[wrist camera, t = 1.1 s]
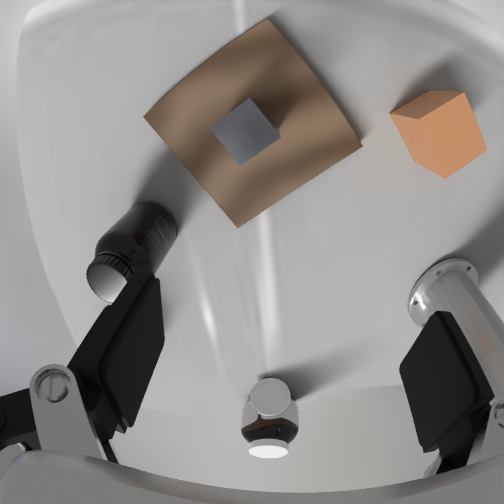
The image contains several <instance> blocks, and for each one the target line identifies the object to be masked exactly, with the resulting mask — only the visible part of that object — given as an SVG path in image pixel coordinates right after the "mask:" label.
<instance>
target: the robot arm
mask: <svg viewBox="0 0 504 504" xmlns="http://www.w3.org/2000/svg"><path fill="white" fill-rule="evenodd" d="M478 283H479V278H478V273H477V270H476V269H475V267H474V266H473V265H472V264H471V263H470V262H469V261H467V260H466V259H462V258H451V259H447V260H444V261H442V262H440V263H438V264H436V265H435V266H433V267H432V268H431V269H429V270H428V271H427V272H426V273H425V274H424V275H423V276H422V277H421V278H420V279H419V281H418V282H417V283H416V285H415V287H414V288H413V290H412V292H411V295H410V298H409V303H408V310H409V314H410V316H411V318H412V320H413V322H414V323H415V324H416V325H418V326H419V327H422V328H423V329H422V331H421V333H420V334H419V336H418V337H417V339H416V341H415V342H414V344H413V346H412V347H411V349H410V350H409V352H408V353H407V355H406V356H405V358H404V359H403V361H402V362H401V364H400V369H399V371H400V375H401V378H402V381H403V385H404V388H405V391H406V395H407V398H408V402H409V405H410V409H411V412H412V416H413V420H414V424H415V428H416V432H417V436H418V440H419V444H420V445H421V446H422V447H423V452H424V453H426V452H431V451H435V450H436V449H438V448H439V451H440V452H439V454H438V456H437V459H436V461H434V462H433V463H432V464H431V465H430V466H429V467H428V468H427V470H426V471H425V473H424V476H423V478H422V479H418V480H413V481H409V482H404V483H399V484H394V485H388V486H382V487H375V488H367V489H359V490H349V491H338V492H319V493H279V492H260V491H248V490H238V489H230V488H222V487H216V486H209V485H203V484H198V483H192V482H187V481H182V480H177V479H172V478H168V477H164V476H160V475H156V474H152V473H148V472H145V471H141V470H137V469H134V468H131V467H127V466H123V465H121V462H120V460H119V458H118V456H117V454H116V452H115V449H114V447H113V445H112V443H111V440H110V439H112V438H113V435H114V432H115V431H118V432H121V433H124V434H125V432H126V429H127V427H130V428H131V427H132V426H133V425H134V422H135V420H136V417H137V414H138V411H139V409H140V406H141V403H142V400H143V398H144V395H145V392H146V390H147V387H148V384H149V382H150V379H151V377H152V374H153V371H154V369H155V366H156V364H157V361H158V359H159V356H160V354H161V351H162V349H163V346H164V340H165V336H164V326H163V316H162V305H161V292H160V281H159V279H158V278H155V275H154V273H151V272H146V271H140V270H136V271H135V272H134V273H133V274H132V276H131V277H130V279H129V280H128V282H127V283H126V284H125V286H124V287H123V289H122V290H121V292H120V293H119V295H118V296H117V297H116V299H115V300H114V302H113V303H112V305H108V306H106V307H105V308H104V309H103V311H102V312H101V314H100V315H99V317H98V318H97V320H96V321H95V323H94V324H93V326H92V327H91V329H90V330H89V332H88V333H87V335H86V337H85V338H84V340H83V341H82V343H81V344H80V346H79V348H78V349H77V351H76V353H75V354H74V356H73V358H72V359H71V361H70V362H69V364H68V366H67V367H64V366H63V365H58V364H51V365H47V366H44V367H42V368H40V369H39V370H38V371H36V373H35V374H34V375H33V377H32V379H31V382H30V388H27V389H24V390H21V391H17V392H14V393H11V394H8V395H5V396H1V397H0V504H504V323H503V321H502V320H501V318H500V317H499V315H498V314H497V313H496V311H495V310H494V308H493V307H492V306H491V304H490V303H489V302H488V300H487V299H486V298H485V296H484V295H483V294H482V292H481V291H480V290H479V288H478Z"/></svg>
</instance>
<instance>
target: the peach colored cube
mask: <svg viewBox="0 0 504 504" xmlns="http://www.w3.org/2000/svg"><path fill="white" fill-rule="evenodd" d="M389 114H390V115H391V117H392V119H393V121H394V122H395V124H396V126H397V128H398V130H399V132H400V133H401V135H402V137H403V139H404V141H405V143H406V145H407V147H408V149H409V151H410V153H411V155H412V157H413V159H414V161H415V162H417V163H419V164H420V165H422V166H424V167H426V168H427V169H429V170H431V171H433V172H434V173H436V174H438V175H439V176H441V177H443V178H444V179H446V178H447V177H449V176H450V175H452V174H453V173H455V172H456V171H457V170H459V169H460V168H462V167H463V166H465V165H466V164H468V163H469V162H471V161H472V160H473V159H475V158H476V157H478V156H479V155H481V154H482V153H484V152H485V151H486V150H487V149H486V146H485V143H484V140H483V137H482V134H481V132H480V129H479V126H478V124H477V121H476V118H475V116H474V113H473V111H472V109H471V106H470V104H469V102H468V99H467V97H466V95H465V93H464V92H457V91H443V90H428V91H427V92H425V93H423V94H421V95H420V96H418V97H416V98H415V99H413V100H411V101H409V102H408V103H406V104H404V105H403V106H401V107H399V108H398V109H396V110H394V111H393V112H391V113H389Z"/></svg>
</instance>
